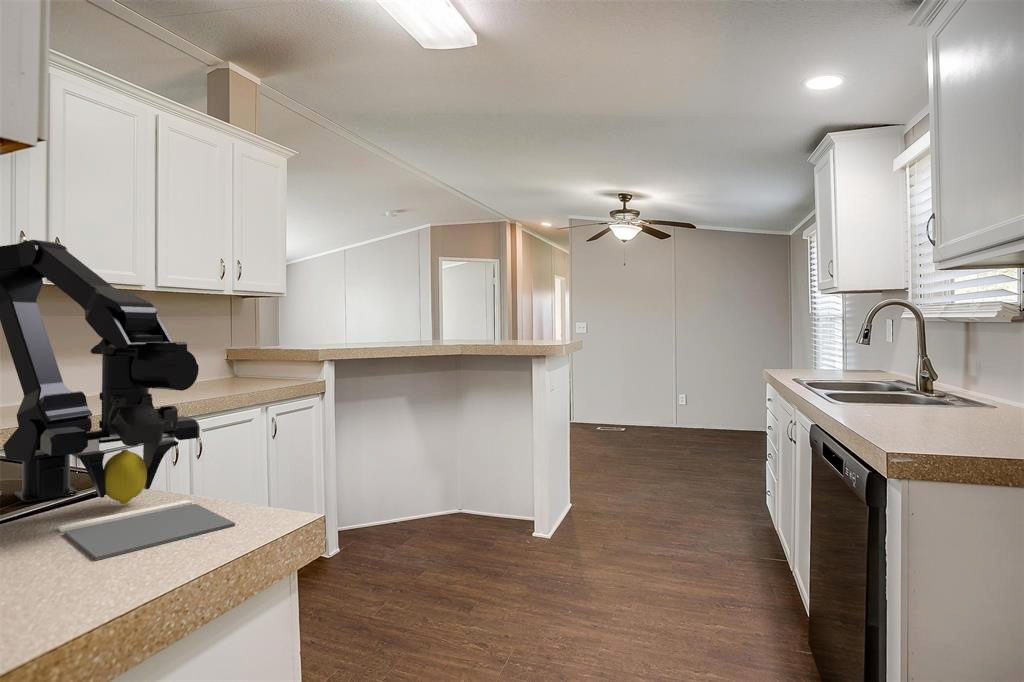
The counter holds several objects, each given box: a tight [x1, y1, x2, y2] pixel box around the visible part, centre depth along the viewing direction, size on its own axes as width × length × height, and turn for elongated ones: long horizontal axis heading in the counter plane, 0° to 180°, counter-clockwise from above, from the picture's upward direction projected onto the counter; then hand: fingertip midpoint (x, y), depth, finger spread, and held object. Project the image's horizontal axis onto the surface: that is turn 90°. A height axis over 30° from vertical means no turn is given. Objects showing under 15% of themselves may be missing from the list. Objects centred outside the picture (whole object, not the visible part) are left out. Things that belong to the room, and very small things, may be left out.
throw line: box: [57, 499, 193, 533], centre depth 83 cm, size 2×16×1 cm, turn 141°
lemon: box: [103, 449, 147, 505], centre depth 87 cm, size 6×6×8 cm
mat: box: [63, 503, 236, 561], centre depth 78 cm, size 12×16×1 cm
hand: (124, 492), depth 87 cm, fingers closed on lemon, 5 cm apart
